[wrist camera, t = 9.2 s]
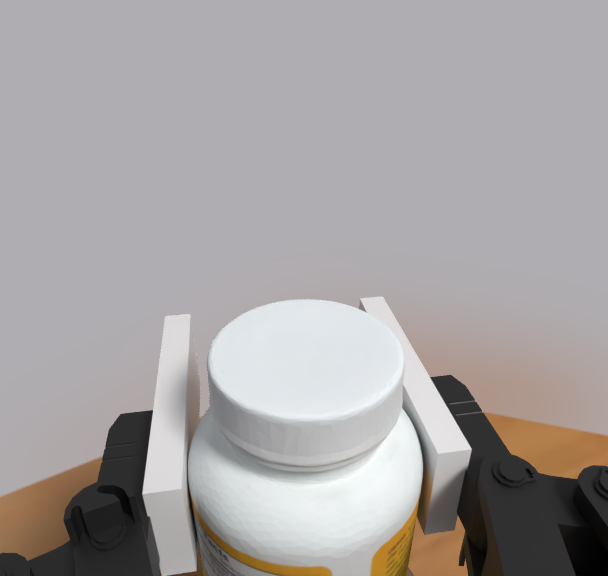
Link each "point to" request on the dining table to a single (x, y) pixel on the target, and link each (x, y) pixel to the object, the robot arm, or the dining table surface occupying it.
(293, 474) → the supplement bottle
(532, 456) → the dining table surface
